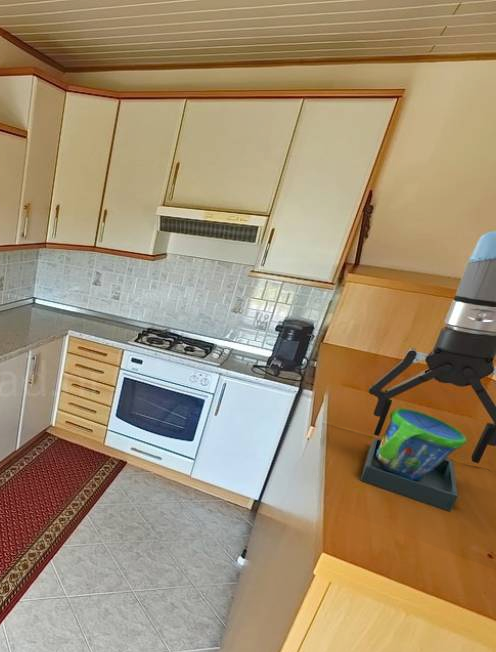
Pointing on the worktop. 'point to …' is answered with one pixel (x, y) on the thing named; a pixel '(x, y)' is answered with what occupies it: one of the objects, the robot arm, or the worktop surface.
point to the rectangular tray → (414, 481)
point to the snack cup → (416, 444)
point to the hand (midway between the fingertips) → (423, 446)
